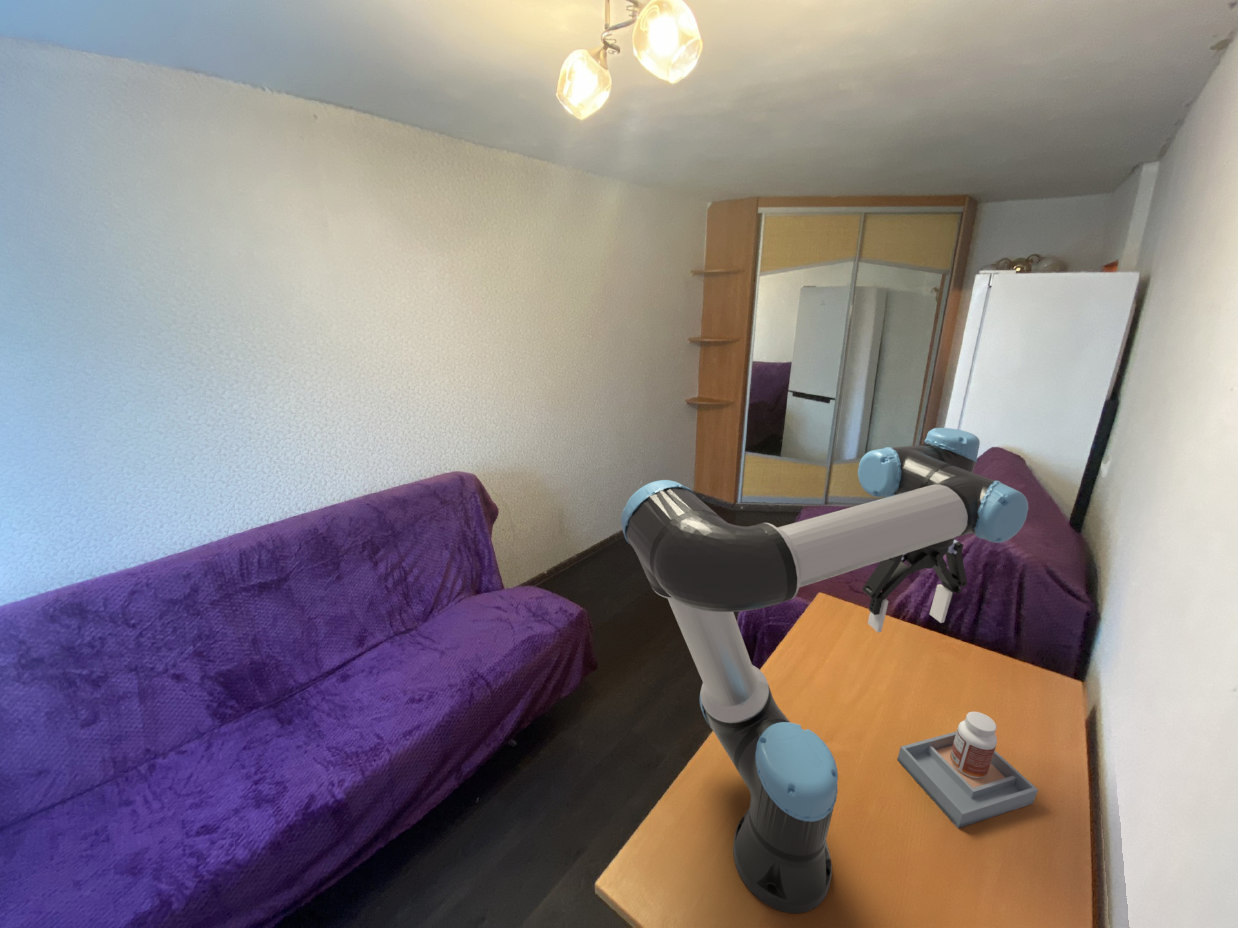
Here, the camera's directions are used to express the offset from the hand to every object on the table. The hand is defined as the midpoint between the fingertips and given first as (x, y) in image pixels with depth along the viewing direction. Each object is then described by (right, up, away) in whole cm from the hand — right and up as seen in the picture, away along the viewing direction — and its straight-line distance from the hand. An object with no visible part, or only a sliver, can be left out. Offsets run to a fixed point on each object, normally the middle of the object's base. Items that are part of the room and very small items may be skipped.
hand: (905, 623), depth 97 cm
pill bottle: (+14, -29, +4) cm, 32 cm away
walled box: (+12, -30, +2) cm, 33 cm away
